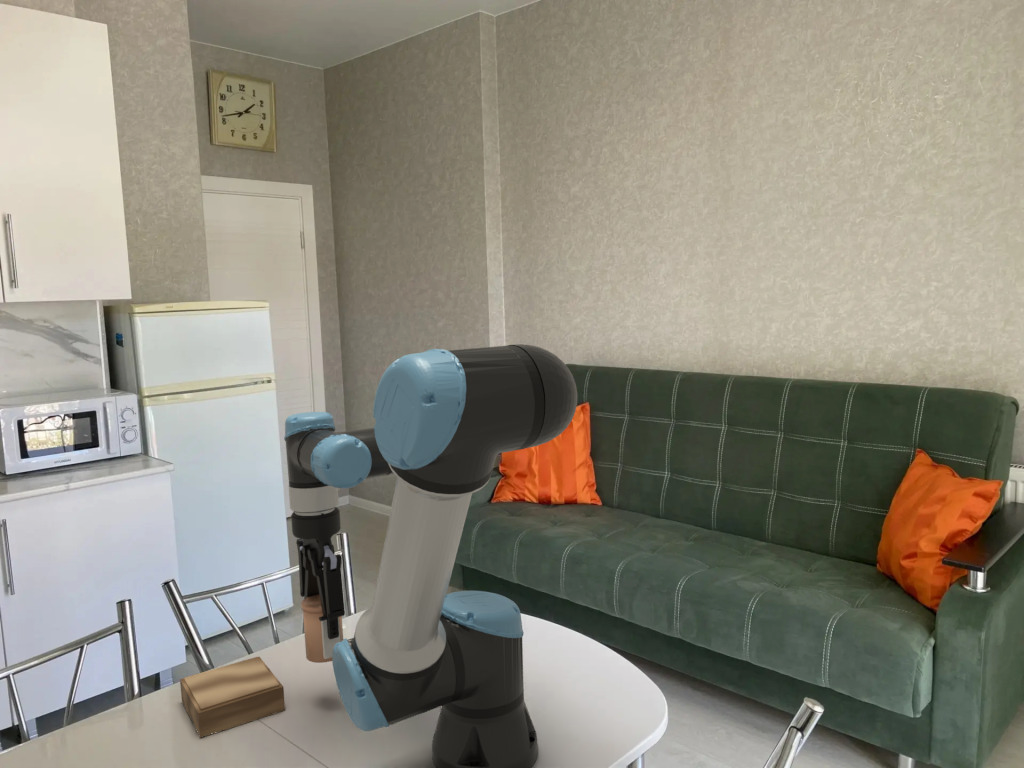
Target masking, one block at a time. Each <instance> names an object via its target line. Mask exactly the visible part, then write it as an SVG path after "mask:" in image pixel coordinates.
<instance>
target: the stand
mask: <svg viewBox="0 0 1024 768" xmlns="http://www.w3.org/2000/svg"><path fill="white" fill-rule="evenodd" d="M179 681H180V683H179V684H180V694H181V696H180V697H181V703H182V702H183V703H182V704H184V705H183V707H184V706H185V707H184V709H185V708H186V709H185V711H186V710H187V711H186V712H188V713H187V715H188V714H189V715H188V716H190V717H191V719H192V721H193V723H194V725H195V727H196V728H195V727H194V728H195V730H196V729H197V730H196V732H197V731H198V732H197V734H198V733H199V734H198V736H199V735H200V736H199V738H200V737H202V738H204V737H203V736H205V737H207V736H206V735H208V736H211V735H212V734H211V733H214V734H216V733H215V732H217V733H220V732H223V731H226V730H229V729H233V728H235V727H238V726H241V725H243V724H247V723H250V722H253V721H256V720H260V719H262V718H265V717H268V716H272V715H274V714H277V713H280V712H284V711H286V705H285V690H284V689H285V687H284V686H283V684H282V683H281V681H280V680H279V679H278V677H277V676H275V674H274V673H273V672H272V670H271V669H270V667H268V665H267V664H266V663H265V661H264V660H263V659H262V658H261V657H260V656H254V657H251V658H247V659H244V660H241V661H238V662H234V663H231V664H226V665H224V666H223V665H222V666H220V667H217V668H213V669H210V670H209V669H208V670H205V671H203V672H199V673H196V674H192V675H189V676H186V677H183V678H180V679H179ZM190 717H189V718H190ZM191 719H190V720H191ZM192 721H191V722H192ZM193 723H192V724H193ZM194 725H193V726H194ZM222 730H223V731H222ZM219 731H220V732H219ZM210 734H211V735H210Z"/></svg>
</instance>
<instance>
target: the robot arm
mask: <svg viewBox="0 0 1024 768" xmlns="http://www.w3.org/2000/svg"><path fill="white" fill-rule="evenodd" d="M577 389H578V387H577V384H576V381H575V378H574V376H573V373H572V372H571V370H570V369H569V367H568V366H567V365H566V363H565V362H564V361H563V360H562V359H561V358H559V357H558V356H557V355H556V354H554V353H553V352H551V351H549V350H547V349H544V348H542V347H540V346H536V345H531V344H524V343H523V344H519V343H516V344H509V345H508V344H507V345H495V346H488V347H487V346H485V347H475V348H461V349H452V350H451V349H449V350H447V349H444V348H434V349H433V348H432V349H428V350H425V351H423V352H417V353H409V354H405V355H403V356H401V357H400V358H397V359H396V360H394V361H393V362H392V363H391V364H390V365H389V366H388V367H387V368H386V369H385V371H384V373H383V374H382V376H381V377H380V380H379V383H378V386H377V387H376V392H375V396H374V401H373V410H372V411H373V412H372V413H373V414H372V416H373V418H374V419H375V424H374V426H373V427H371V428H362V429H353V430H346V431H345V430H344V431H336V426H335V423H334V417H333V415H332V413H329V412H326V411H310V412H309V411H308V412H307V411H306V412H300V413H299V412H298V413H294V414H291V415H288V417H287V418H286V419H285V421H284V426H285V427H284V442H285V450H286V465H287V476H288V497H289V509H290V510H291V511H292V513H291V515H290V521H291V532H292V535H293V537H295V538H296V546H297V552H298V553H297V554H298V555H297V556H298V573H299V574H298V575H299V593H300V596H301V597H302V598H303V600H304V599H305V598H307V597H310V596H313V595H317V594H320V600H321V606H322V612H323V616H322V617H319V620H320V621H321V628H322V643H323V657H324V658H325V659H328V658H331V657H332V661H331V662H332V667H333V668H332V669H333V673H334V677H335V682H336V686H337V689H338V694H339V695H340V699H341V701H342V704H343V706H344V709H345V711H346V713H347V716H348V717H349V720H350V721H351V723H352V724H353V725H354V726H355V727H356V728H357V729H359V730H360V731H362V732H371V731H374V730H378V729H381V728H389V727H390V726H391V725H395V724H397V723H400V722H403V721H405V720H407V719H411V718H414V717H416V716H419V715H421V714H424V713H427V712H429V711H432V710H434V709H437V708H440V707H441V710H440V713H439V717H438V718H437V719H438V720H437V724H436V727H435V731H434V734H433V737H432V744H431V750H432V751H431V752H432V761H433V764H434V767H435V768H532V767H533V766H532V765H534V764H535V763H536V761H537V758H538V745H539V744H538V735H537V732H536V728H535V726H534V723H533V720H532V718H531V715H530V712H529V709H528V707H527V704H526V702H525V693H524V692H525V690H524V689H525V687H524V684H525V682H524V654H523V653H524V652H523V651H524V650H523V649H524V648H523V636H524V630H523V622H522V613H521V611H520V607H519V606H518V605H517V603H515V601H513V600H512V599H510V598H508V597H506V596H504V595H501V594H498V593H494V592H490V591H483V590H460V591H455V592H454V591H452V592H449V593H448V589H449V585H450V581H451V578H452V573H453V570H454V566H455V561H456V558H457V554H458V549H459V547H460V546H459V545H460V542H461V538H462V534H463V531H464V526H465V523H466V518H467V516H468V515H467V514H468V512H469V511H468V510H469V507H470V503H471V499H472V496H473V494H474V493H476V492H478V491H480V490H482V489H483V488H484V487H485V486H486V485H487V484H489V481H490V480H491V476H492V473H493V469H494V466H495V462H496V458H497V456H499V454H502V453H508V452H514V451H515V452H516V451H520V450H525V449H529V448H534V447H538V446H540V445H543V444H546V443H549V442H550V441H552V440H554V439H556V438H557V437H559V436H561V434H562V433H563V432H564V431H565V430H566V429H567V428H568V427H569V425H570V424H571V423H572V421H573V418H574V416H575V414H576V410H577V407H578V390H577ZM390 475H394V476H395V477H396V480H395V481H396V482H395V485H394V486H395V487H394V492H393V497H392V501H391V502H392V503H391V506H390V507H391V508H390V513H389V518H388V523H387V528H386V533H385V539H384V543H383V548H382V553H381V557H380V559H381V560H380V564H379V569H378V573H377V580H376V584H375V591H374V595H373V601H372V603H371V604H372V605H371V606H370V607H368V608H367V609H366V610H364V612H363V613H362V614H361V615H360V617H359V618H358V620H357V623H356V625H355V629H354V635H353V637H352V638H349V639H348V638H343V641H341V639H340V624H339V617H340V616H342V617H343V616H345V614H346V612H345V602H344V593H343V592H344V590H343V589H344V588H343V578H342V577H343V576H342V556H341V554H340V553H338V554H335V553H336V552H335V547H334V544H333V543H332V537H333V536H334V535H336V534H338V533H339V532H340V531H341V528H342V527H341V513H340V509H339V507H338V506H339V491H340V490H341V489H351V488H354V487H357V486H358V485H359V484H361V483H362V482H363V481H364V480H368V479H374V478H380V477H384V476H385V477H386V476H390ZM447 593H448V594H447Z"/></svg>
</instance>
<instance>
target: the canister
mask: <svg viewBox="0 0 1024 768" xmlns="http://www.w3.org/2000/svg"><path fill="white" fill-rule="evenodd" d="M300 607H301V610H302V614H303V615H302V616H303V618H302V619H303V630H304V631H303V632H304V643H305V644H304V645H305V646H304V647H305V658H306V660H307V661H308V662H311V663H316V664H317V663H319V664H321V663H328V662H333V661H332V657H331V658H328V659H325V658H324V657H323V643H322V628H321V621H320V620H319V617H322V616H323V612H322V606H321V600H320V594H317V595H313V596H310V597H307V598H305V599H304V598H303V599H302V601H301V602H300ZM339 624H340V639H341V641H343V639H344V632H343V631H344V629H343V616H340V617H339Z"/></svg>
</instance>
